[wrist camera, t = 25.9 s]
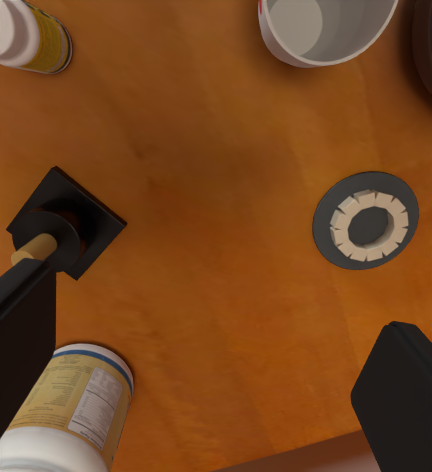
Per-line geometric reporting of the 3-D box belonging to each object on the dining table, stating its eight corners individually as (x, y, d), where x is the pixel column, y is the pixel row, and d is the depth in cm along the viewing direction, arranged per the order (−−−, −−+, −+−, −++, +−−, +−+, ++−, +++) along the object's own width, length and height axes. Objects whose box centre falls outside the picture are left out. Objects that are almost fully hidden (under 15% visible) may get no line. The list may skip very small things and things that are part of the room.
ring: (372, 174, 33) (378, 177, 31) (415, 222, 34) (422, 227, 33) (315, 225, 35) (319, 230, 33) (358, 267, 37) (364, 273, 35)
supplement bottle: (70, 15, 28) (14, -20, 20) (76, 76, 30) (26, 65, 22) (14, 11, 28) (-64, -25, 20) (23, 72, 30) (-46, 60, 22)
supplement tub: (103, 422, 46) (45, 584, 31) (26, 379, 43) (-81, 534, 28) (154, 372, 43) (118, 526, 27) (74, 321, 40) (-17, 462, 24)
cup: (296, -58, 26) (340, -147, 17) (361, 21, 28) (431, -20, 19) (228, 30, 28) (234, -6, 19) (292, 97, 30) (325, 94, 21)
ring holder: (56, 165, 33) (1, 186, 25) (127, 223, 35) (99, 260, 27) (10, 226, 35) (-54, 264, 27) (80, 276, 38) (40, 325, 29)
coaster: (374, 148, 32) (376, 148, 32) (436, 220, 35) (439, 222, 34) (291, 224, 35) (292, 226, 35) (354, 285, 38) (356, 287, 37)
